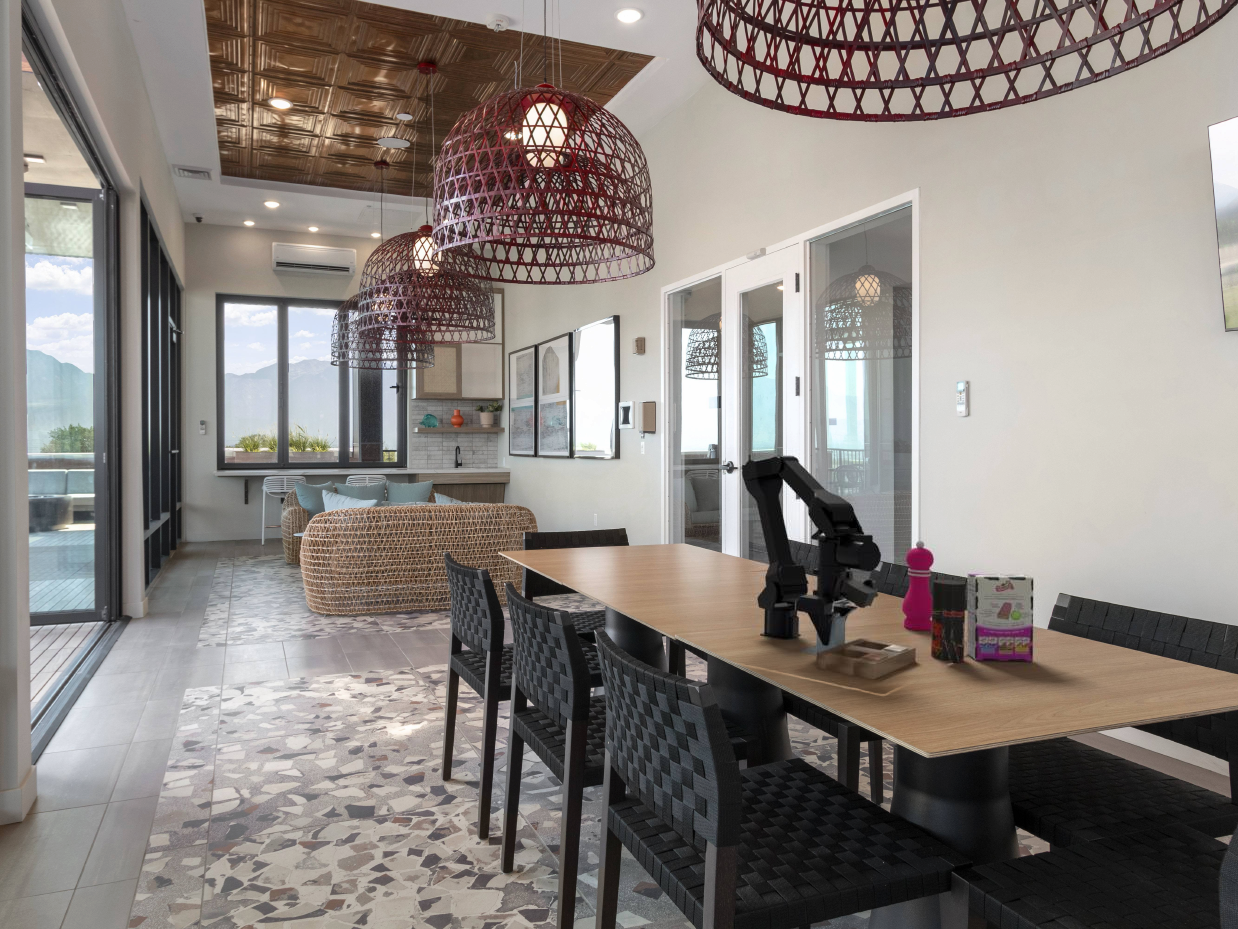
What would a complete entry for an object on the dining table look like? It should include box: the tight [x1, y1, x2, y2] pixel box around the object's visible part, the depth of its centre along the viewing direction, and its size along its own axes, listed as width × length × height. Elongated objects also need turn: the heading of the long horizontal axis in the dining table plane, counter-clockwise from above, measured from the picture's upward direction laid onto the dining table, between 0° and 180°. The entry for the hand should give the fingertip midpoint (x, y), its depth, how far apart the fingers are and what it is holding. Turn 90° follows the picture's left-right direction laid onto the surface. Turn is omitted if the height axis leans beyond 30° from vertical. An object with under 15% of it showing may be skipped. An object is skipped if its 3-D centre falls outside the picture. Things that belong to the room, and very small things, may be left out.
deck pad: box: [798, 645, 819, 656], centre depth 164 cm, size 9×9×1 cm
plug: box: [816, 613, 846, 652], centre depth 164 cm, size 4×4×8 cm
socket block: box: [815, 638, 917, 680], centre depth 154 cm, size 11×18×3 cm, turn 138°
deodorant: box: [930, 579, 967, 664], centre depth 161 cm, size 6×6×15 cm
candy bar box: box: [966, 573, 1034, 663], centre depth 163 cm, size 11×5×16 cm, turn 88°
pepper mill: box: [901, 540, 935, 631], centre depth 191 cm, size 7×7×20 cm
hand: (830, 643), depth 164 cm, fingers closed on plug, 4 cm apart
